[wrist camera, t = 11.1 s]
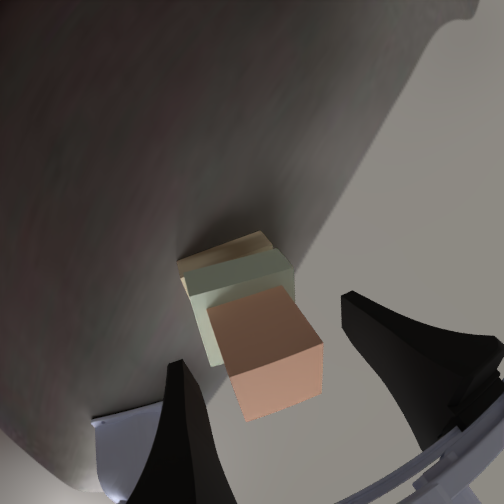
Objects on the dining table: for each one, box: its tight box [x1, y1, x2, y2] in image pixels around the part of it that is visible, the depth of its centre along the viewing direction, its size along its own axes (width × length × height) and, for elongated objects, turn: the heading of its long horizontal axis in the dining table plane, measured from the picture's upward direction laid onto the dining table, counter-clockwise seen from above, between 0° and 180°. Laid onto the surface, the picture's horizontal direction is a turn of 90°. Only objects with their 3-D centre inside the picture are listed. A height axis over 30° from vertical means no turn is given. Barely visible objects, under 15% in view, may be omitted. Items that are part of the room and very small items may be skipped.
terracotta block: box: [206, 285, 323, 422], centre depth 16 cm, size 4×4×5 cm
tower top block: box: [183, 248, 295, 367], centre depth 19 cm, size 6×6×2 cm
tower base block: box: [177, 230, 273, 299], centre depth 21 cm, size 6×6×2 cm
